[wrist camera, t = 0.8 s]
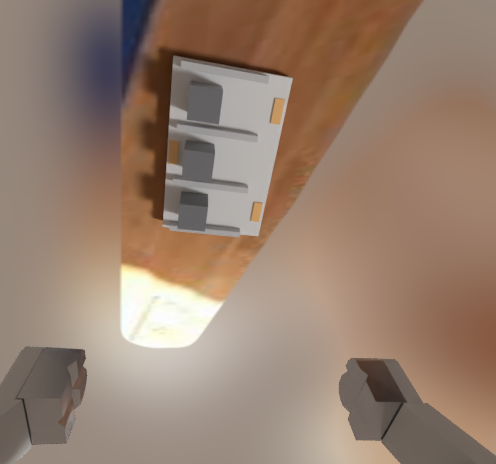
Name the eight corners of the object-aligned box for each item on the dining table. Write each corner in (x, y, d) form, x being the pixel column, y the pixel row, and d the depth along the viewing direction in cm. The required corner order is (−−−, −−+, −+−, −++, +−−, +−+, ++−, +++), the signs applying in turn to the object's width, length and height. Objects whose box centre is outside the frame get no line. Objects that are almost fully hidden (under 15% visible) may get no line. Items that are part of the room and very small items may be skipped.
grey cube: (181, 191, 46) (179, 203, 43) (208, 194, 47) (208, 207, 44) (179, 214, 48) (177, 228, 45) (205, 217, 49) (204, 231, 45)
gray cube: (191, 80, 40) (189, 85, 36) (221, 86, 40) (223, 90, 37) (188, 112, 41) (186, 119, 38) (217, 117, 42) (218, 124, 39)
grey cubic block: (185, 140, 43) (184, 149, 40) (214, 144, 44) (215, 153, 40) (183, 167, 45) (181, 178, 41) (211, 171, 45) (211, 182, 42)
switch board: (174, 55, 40) (172, 56, 37) (290, 76, 42) (294, 79, 40) (163, 221, 50) (161, 230, 48) (256, 231, 53) (259, 240, 50)
